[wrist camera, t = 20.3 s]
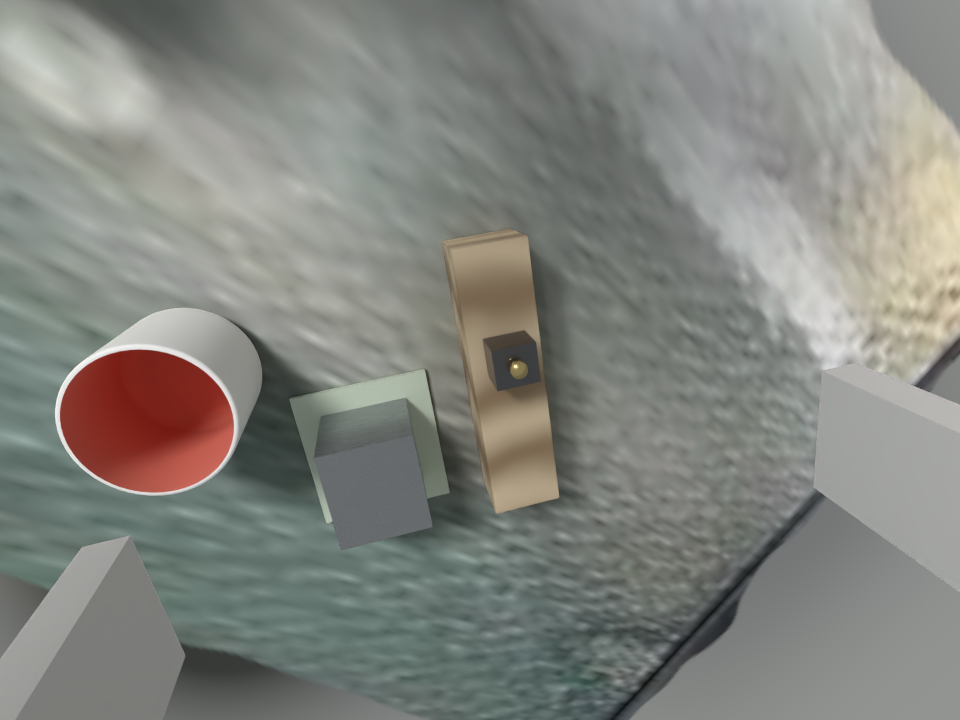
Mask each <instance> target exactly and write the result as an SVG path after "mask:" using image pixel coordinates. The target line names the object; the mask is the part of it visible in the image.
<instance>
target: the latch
mask: <svg viewBox="0 0 960 720" xmlns="http://www.w3.org/2000/svg"><path fill="white" fill-rule="evenodd" d="M483 345H484V352H485V358H486V364H487V370H488V376H489V378H490V380H491V381H492V383H493V385H494V387H495V388H496V390H497V391H502V390H506V389H511V388H515V387H519V386H524V385H528V384H533V383H537V382H541V377H540V369H539V361H538V353H537V345H536V341H535V340H534V339H533V338H532V337H531V336H530V335H529V334H528V333H527V332H526V331H525V330H522V331H518V332H513V333H508V334H503V335H499V336H494V337H489V338H484V339H483Z"/></svg>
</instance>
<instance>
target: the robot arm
mask: <svg viewBox="0 0 960 720" xmlns="http://www.w3.org/2000/svg"><path fill="white" fill-rule="evenodd" d="M814 488H815V489H817V490H818V491H819V492H821V493H822V494H824V495H825V496H826V497H828V498H829V499H831V500H832V501H834V502H835V503H836V504H837V505H839V506H840V507H842V508H843V509H844V510H846V511H847V512H849V513H850V514H851V515H853V516H854V517H856V518H857V519H859V520H860V521H861V522H863V523H864V524H865V525H867V526H868V527H870V528H871V529H873V530H874V531H875V532H877V533H878V534H879V535H881V536H882V537H883V538H885V539H886V540H888V541H889V542H891V543H892V544H893V545H895V546H896V547H898V548H899V549H900V550H902V551H903V552H904V553H906V554H907V555H909V556H910V557H912V558H913V559H914V560H916V561H917V562H919V563H920V564H921V565H923V566H924V567H925V568H927V569H928V570H930V571H931V572H932V573H934V574H935V575H936V576H938V577H939V578H941V579H942V580H943V581H945V582H946V583H948V584H949V585H950V586H952V587H953V588H955V589H956V590H957V591H959V592H960V405H959V404H956V403H954V402H951V401H949V400H946V399H944V398H941V397H939V396H936V395H934V394H932V393H929V392H927V391H924V390H922V389H919V388H917V387H914V386H912V385H909V384H907V383H904V382H902V381H899V380H897V379H895V378H892V377H890V376H887V375H885V374H882V373H880V372H877V371H875V370H872V369H870V368H867V367H865V366H862V365H860V364H857V363H853V364H849V365H845V366H841V367H836V368H832V369H828V370H824V371H822V377H821V391H820V405H819V419H818V432H817V446H816V460H815V474H814ZM184 658H185V654H184V652H183V649H182V647H181V645H180V643H179V641H178V638H177V636H176V634H175V632H174V630H173V628H172V625H171V623H170V621H169V619H168V617H167V615H166V612H165V610H164V608H163V606H162V604H161V602H160V599H159V597H158V595H157V593H156V591H155V589H154V586H153V584H152V582H151V580H150V578H149V576H148V573H147V571H146V569H145V567H144V565H143V563H142V560H141V558H140V556H139V554H138V552H137V550H136V547H135V545H134V543H133V541H132V539H131V537H130V536H127V537H123V538H118V539H114V540H110V541H106V542H102V543H97V544H93V545H89V546H85V547H82V548H81V549H80V550H79V552H78V553H77V555H76V556H75V557H74V559H73V560H72V561H71V563H70V564H69V566H68V567H67V568H66V570H65V571H64V572H63V574H62V575H61V576H60V578H59V579H58V581H57V582H56V583H55V585H54V586H53V587H52V589H51V590H50V592H49V593H48V594H47V596H46V597H45V598H44V600H43V601H42V602H41V604H40V605H39V607H38V608H37V609H36V611H35V612H34V614H33V615H32V616H31V618H30V619H29V621H28V622H27V623H26V624H25V626H24V627H23V628H22V630H21V631H20V633H19V634H18V635H17V637H16V638H15V639H14V641H13V642H12V643H11V645H10V646H9V648H8V649H7V650H6V652H5V653H4V655H3V656H2V657H1V659H0V720H162V719H163V717H164V714H165V711H166V708H167V706H168V703H169V700H170V697H171V694H172V691H173V689H174V686H175V683H176V680H177V678H178V675H179V672H180V669H181V667H182V664H183V661H184Z"/></svg>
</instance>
